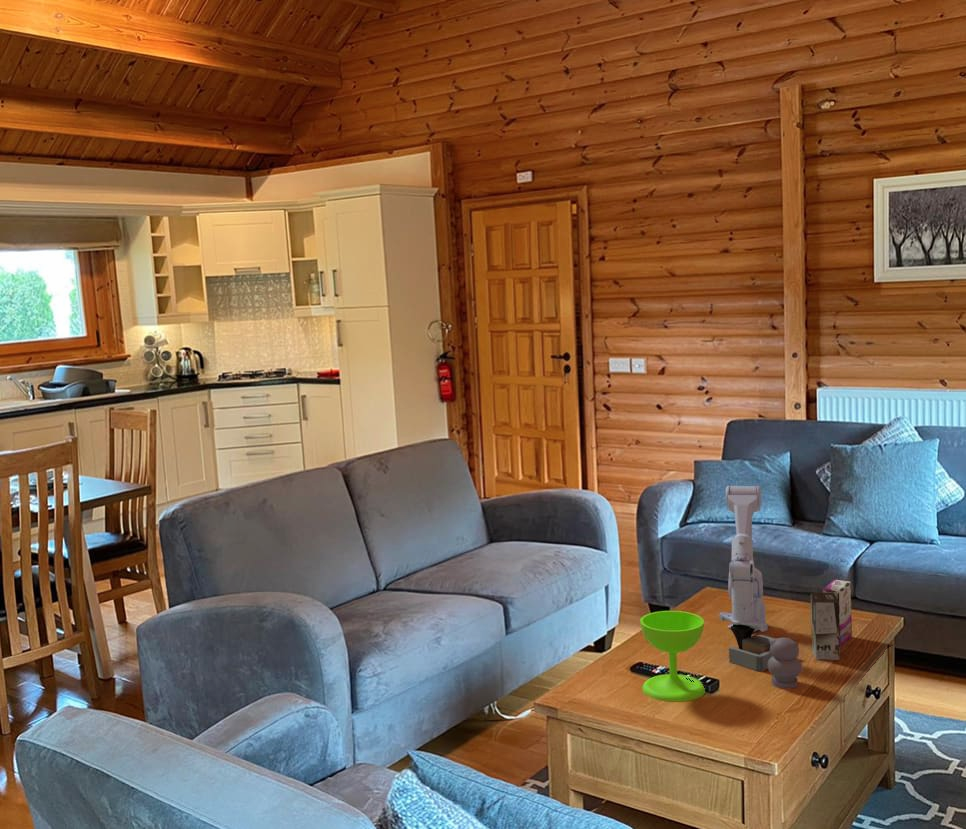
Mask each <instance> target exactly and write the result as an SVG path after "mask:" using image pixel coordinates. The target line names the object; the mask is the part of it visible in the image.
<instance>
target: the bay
mask: <svg viewBox="0 0 966 829" xmlns="http://www.w3.org/2000/svg"><path fill="white" fill-rule="evenodd" d="M758 636H760V637H764V638H767V639H768V638H772V639H776V638H774V637H770V636H768V635H763V634H759V635H758ZM771 657H772V654H771V652H770V650H769V651H767V652H765V653H762V654H760V655H758V654H754V653H751V652H748V651H744V650H741V649H739V648H737V647H733V646H730V647H728V659H729V660H728V663H730V664H731V663H732V664H734V665H738V666H741V667H742V668H744V667H745V668H747V669H751V670H753V671H756V672H763V671H766V670H769V669H768V661H769V659H770V658H771Z"/></svg>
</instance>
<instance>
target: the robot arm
mask: <svg viewBox="0 0 966 829" xmlns="http://www.w3.org/2000/svg"><path fill="white" fill-rule="evenodd" d="M761 489H762V487H760V485H751V486H750V485H747V486H745V485H744V486H743V485H727V486H726V487H725V505H726V507H727V510H728V511H730V512H732V513H734V518H735V523H734V524H735V533H736V535H734V536H733V537H732V539H731V559H730V560H731V561H730V562H729V569H728V570H729V572H728V585H727V586H728V588H727V589H728V596H729V598H731V612H725V611H722V612H720V613H719V615H718V616H719V621H720V622H721V621H722V622H723V621H725V622H730V623H731V624H730V625H727V628H728V629H730V630H731V631H732V634H733V635H734V637H735V640H736V642H737V645H738V649H741V650H743V649H742V640H743V639H746V638H748V637H751V636H753V634H754V632H756V631H760V632H762V633H763V632H764V633H765V632H767V631H768V626H769V624H768V623H767V622H766V618H767V617H766V603H765V601H764V599H763V596H764V595H763V594H764V590H763V589H764V588H763V587H764V585H763V584H764V582H763V581H764V580H763V573H762V571H761V570H759V569H758V568H756V567H755V562H754V556H753V555H754V541H753V523H752V522H753V519H752V518H753V515H755V514H754V513H757V512H760V511H761V507H762V490H761Z"/></svg>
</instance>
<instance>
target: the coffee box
mask: <svg viewBox="0 0 966 829" xmlns="http://www.w3.org/2000/svg"><path fill="white" fill-rule="evenodd" d="M810 619H811V620H810V623H811V624H810V627H811V636H810V637H811V650H812V652H813V655H814V658H815V659H816V660H825V661H826V660H828V661H830V660H832V661H840V648H839V601H838V599H837V598H836V596H835V594H834V593H822V592H810ZM836 659H838V660H836Z"/></svg>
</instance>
